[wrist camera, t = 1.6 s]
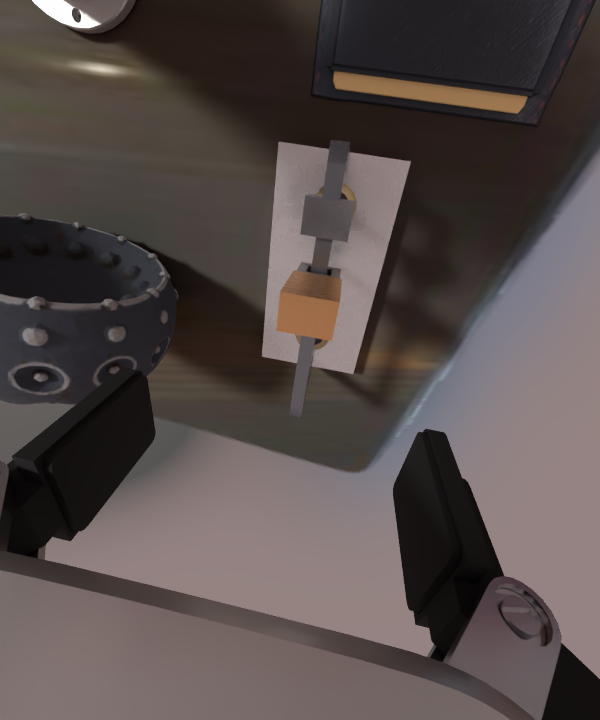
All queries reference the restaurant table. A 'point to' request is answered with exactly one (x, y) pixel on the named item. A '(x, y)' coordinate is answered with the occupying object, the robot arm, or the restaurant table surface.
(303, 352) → the switch panel
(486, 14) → the dark grey flat slab
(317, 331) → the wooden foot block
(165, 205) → the restaurant table surface
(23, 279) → the ring
